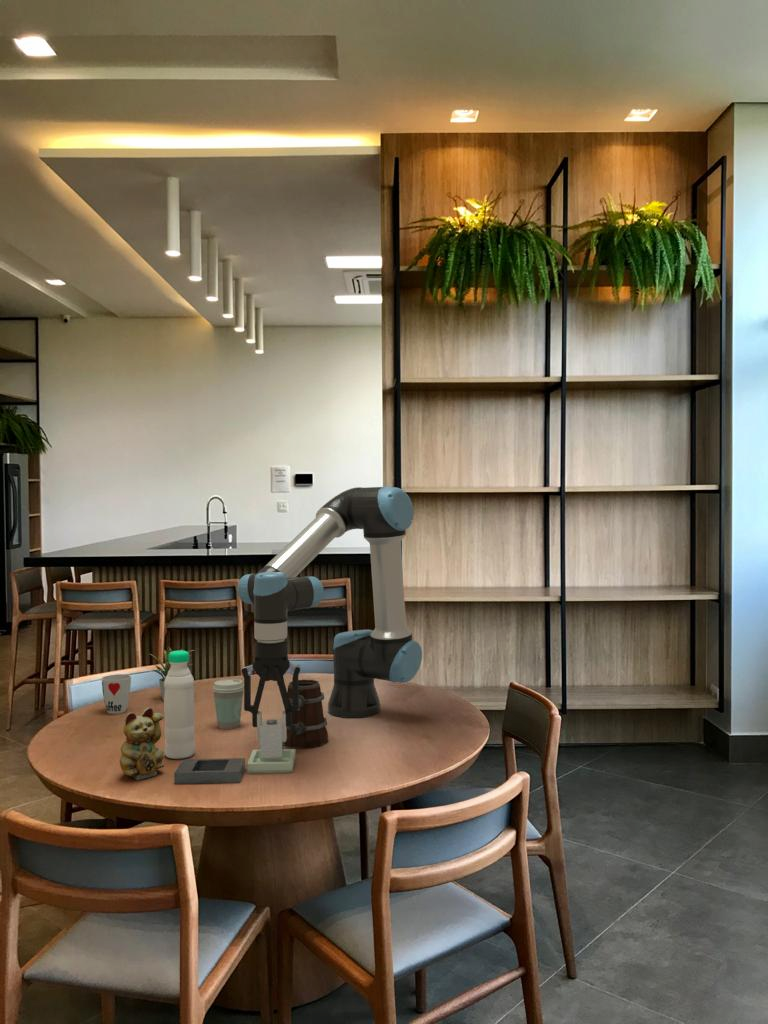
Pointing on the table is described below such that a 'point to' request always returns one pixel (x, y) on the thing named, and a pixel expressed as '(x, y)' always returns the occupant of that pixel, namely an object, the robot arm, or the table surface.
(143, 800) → the table surface
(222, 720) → the coffee cup
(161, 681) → the house plant
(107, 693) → the cup
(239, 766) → the grey rectangular frame
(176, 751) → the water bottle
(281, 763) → the parts tray
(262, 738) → the block
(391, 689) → the table surface
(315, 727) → the mug
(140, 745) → the decorative figurine
